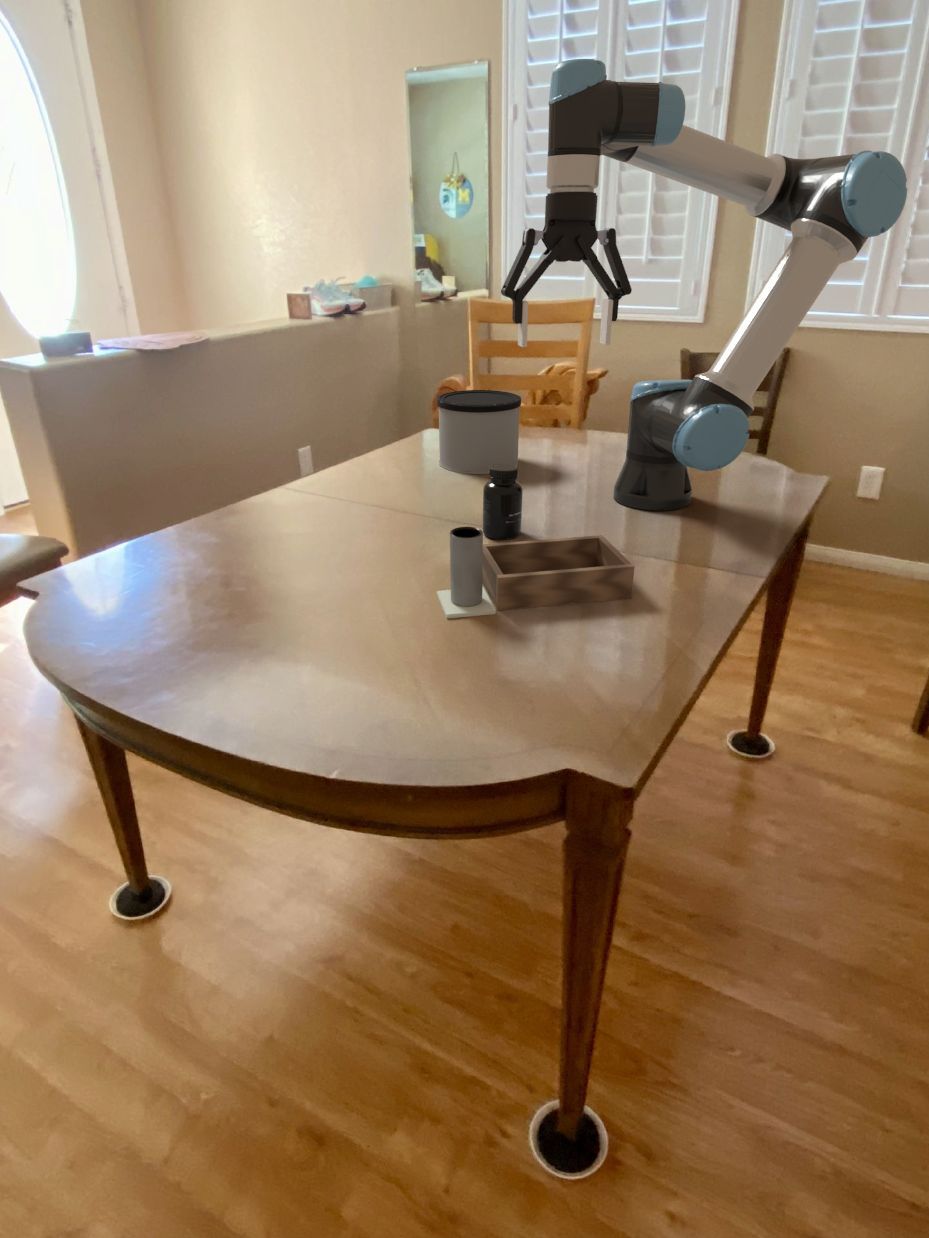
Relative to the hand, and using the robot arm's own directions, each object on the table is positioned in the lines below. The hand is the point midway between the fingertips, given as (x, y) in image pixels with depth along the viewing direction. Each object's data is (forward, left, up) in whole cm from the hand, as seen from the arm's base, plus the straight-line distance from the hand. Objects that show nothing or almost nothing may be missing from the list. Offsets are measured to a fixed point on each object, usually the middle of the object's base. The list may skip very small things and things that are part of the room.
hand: (563, 345), depth 121 cm
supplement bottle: (+9, -2, -32) cm, 33 cm away
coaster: (+21, +25, -32) cm, 46 cm away
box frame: (+7, +22, -32) cm, 39 cm away
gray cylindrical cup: (+21, +25, -31) cm, 45 cm away
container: (+3, -49, -32) cm, 59 cm away
